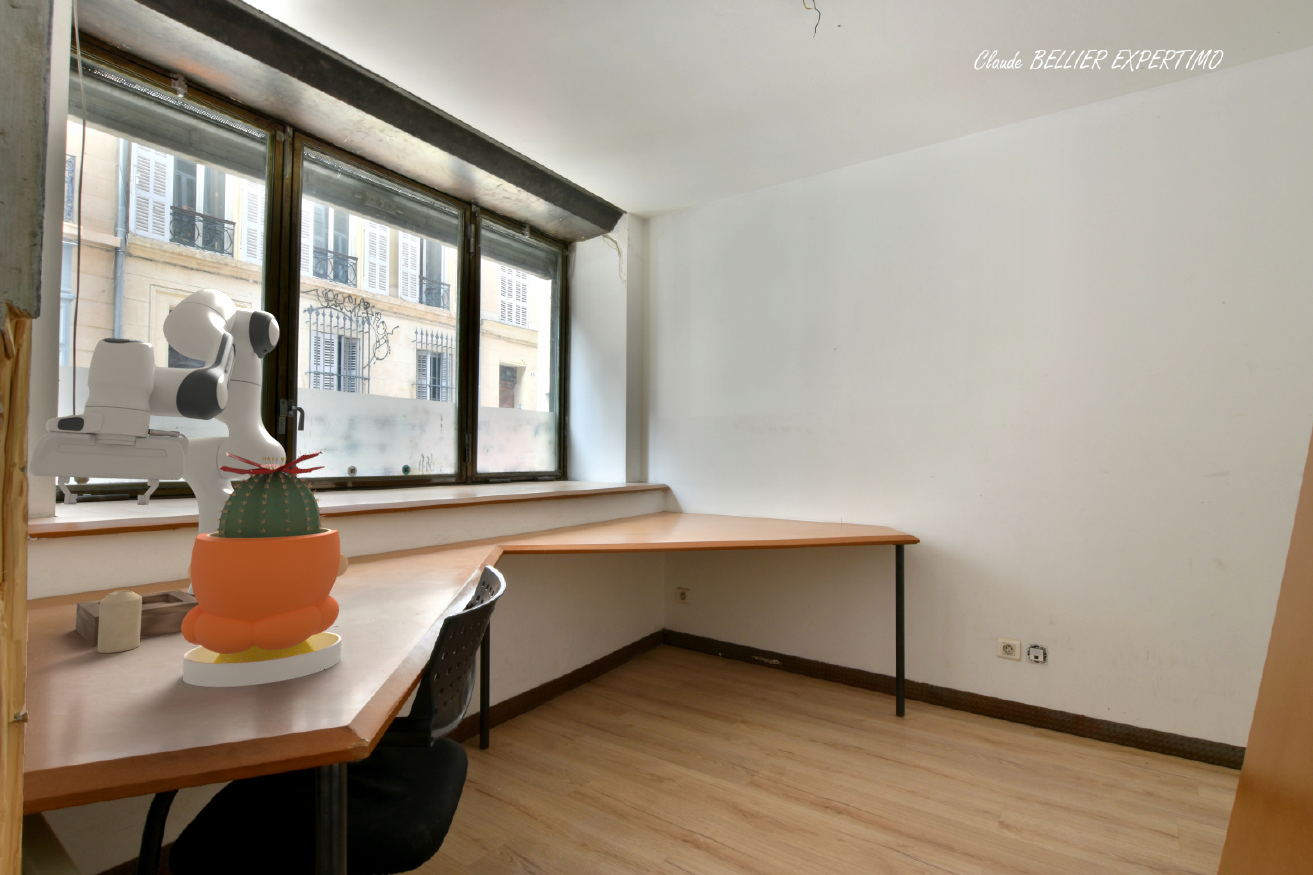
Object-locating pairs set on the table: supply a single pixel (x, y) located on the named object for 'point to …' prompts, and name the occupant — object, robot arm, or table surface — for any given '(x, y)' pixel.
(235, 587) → the potted cactus
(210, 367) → the robot arm
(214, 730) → the table surface
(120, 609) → the candle
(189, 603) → the walnut block
